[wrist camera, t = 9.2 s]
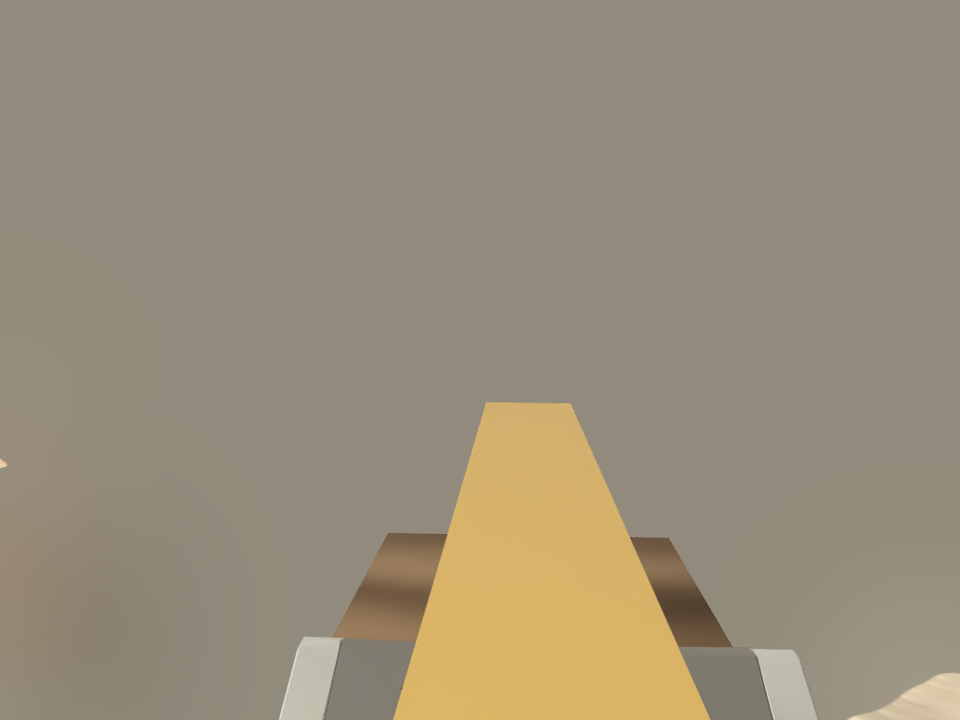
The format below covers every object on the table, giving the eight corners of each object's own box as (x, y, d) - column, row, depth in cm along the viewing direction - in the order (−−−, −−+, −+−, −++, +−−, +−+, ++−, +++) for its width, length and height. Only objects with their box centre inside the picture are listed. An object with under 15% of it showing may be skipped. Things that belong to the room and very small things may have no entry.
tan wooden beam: (849, 1511, 5) (872, 1083, 4) (300, 1472, 5) (293, 1053, 5) (569, 472, 30) (570, 403, 30) (485, 471, 31) (486, 402, 30)
